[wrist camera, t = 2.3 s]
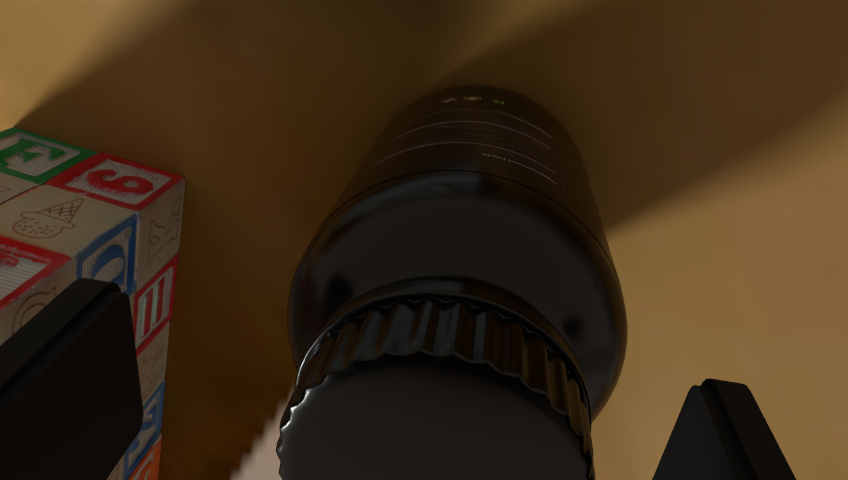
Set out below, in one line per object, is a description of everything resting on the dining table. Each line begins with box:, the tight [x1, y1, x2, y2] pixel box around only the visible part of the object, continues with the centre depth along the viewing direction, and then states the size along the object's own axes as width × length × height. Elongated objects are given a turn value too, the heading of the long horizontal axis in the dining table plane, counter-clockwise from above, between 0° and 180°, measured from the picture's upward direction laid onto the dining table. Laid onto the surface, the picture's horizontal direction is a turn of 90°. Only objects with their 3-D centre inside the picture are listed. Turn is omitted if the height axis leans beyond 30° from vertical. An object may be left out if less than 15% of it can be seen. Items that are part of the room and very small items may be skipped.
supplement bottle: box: [276, 85, 627, 480], centre depth 15 cm, size 7×7×12 cm
